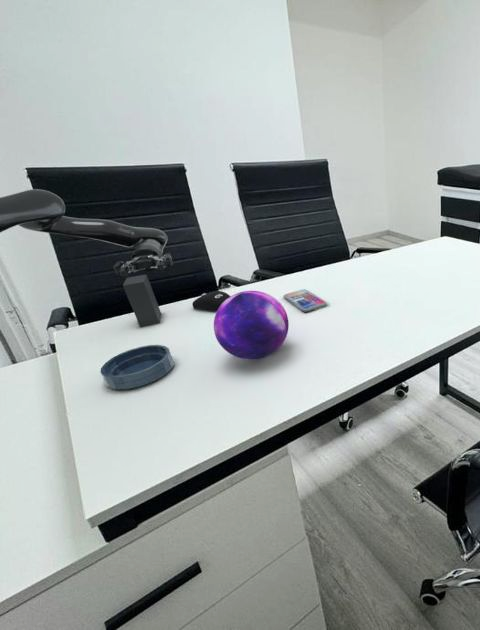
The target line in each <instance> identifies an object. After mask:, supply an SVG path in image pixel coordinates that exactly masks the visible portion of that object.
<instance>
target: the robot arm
mask: <svg viewBox="0 0 480 630" xmlns="http://www.w3.org/2000/svg"><path fill="white" fill-rule="evenodd" d="M65 212H66V204H65V202H64V200H63V199H62V198H61V197H60V196H58V195H57V194H55V193H53V192H51V191H49V190H45V189H38V188H33V189H32V188H31V189H27V190H23V191H19V192H16V193H12V194H9V195H5V196H1V197H0V234H1V233H3V232H5V231H7V230H9V229H12V228H14V227H16V226H18V227H21V228H23V229H25V230H27V231H28V230H29V231H32V232H39V233H46V234H54V235H55V234H56V235H63V236H71V237H77V238H83V239H84V238H85V239H92V240H96V241H100V242H105V243H109V244H113V245H116V246H121V247H125V248H132V247H134V246H135V245H136V244H137V243H138V244H137V246H135V249H134V250H133V252H132V254H131V259H130V260H127V261H126V262H124V261H123V260H119V261H117V262H116V263H115V264H114V265H113V269H114V272H115V273H116V276H121V277H123V278H129V275H130V274H131V273H132V274H133V273H137V272H139V271H143V272H152V271H154V270H155V271H156V270H157V271H158V272H162V271H163V270H164V269H165V268H166V267H167V266H168V267H172V266H173V258H172V255H171V253H170V252H166V253H165V254H164V255H163V253H164V252H163V251H164V248H165V247H166V244H167V242H168V236H167V234H166V233H165V232H164V231H163V230H161V229H158V228H153V227H138V226H137V227H136V226H132V225H127V224H124V223H121V222H117V221H114V220H109V219H100V218H78V217H70V216H65V215H64V214H65Z"/></svg>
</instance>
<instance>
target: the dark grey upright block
mask: <svg viewBox="0 0 480 630" xmlns="http://www.w3.org/2000/svg"><path fill="white" fill-rule="evenodd" d="M122 287H123V290H124V292H125V294H126V297H127V299H128V302H129V304H130V307H131V309H132V311H133V313H134V316H135V318H136V320H137V323H138V325H139V327H140V328H143V327H148V326H152V325H157V324H161V319H162V311H161V309H160V306H159V304H158V301H157V298H156V296H155V293H154V291H153V287H152V285H151V282H150V280H149V278H148V274H141V275H135V276H130V277H129V276H128V277H125V280H124V281H123V284H122Z"/></svg>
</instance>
